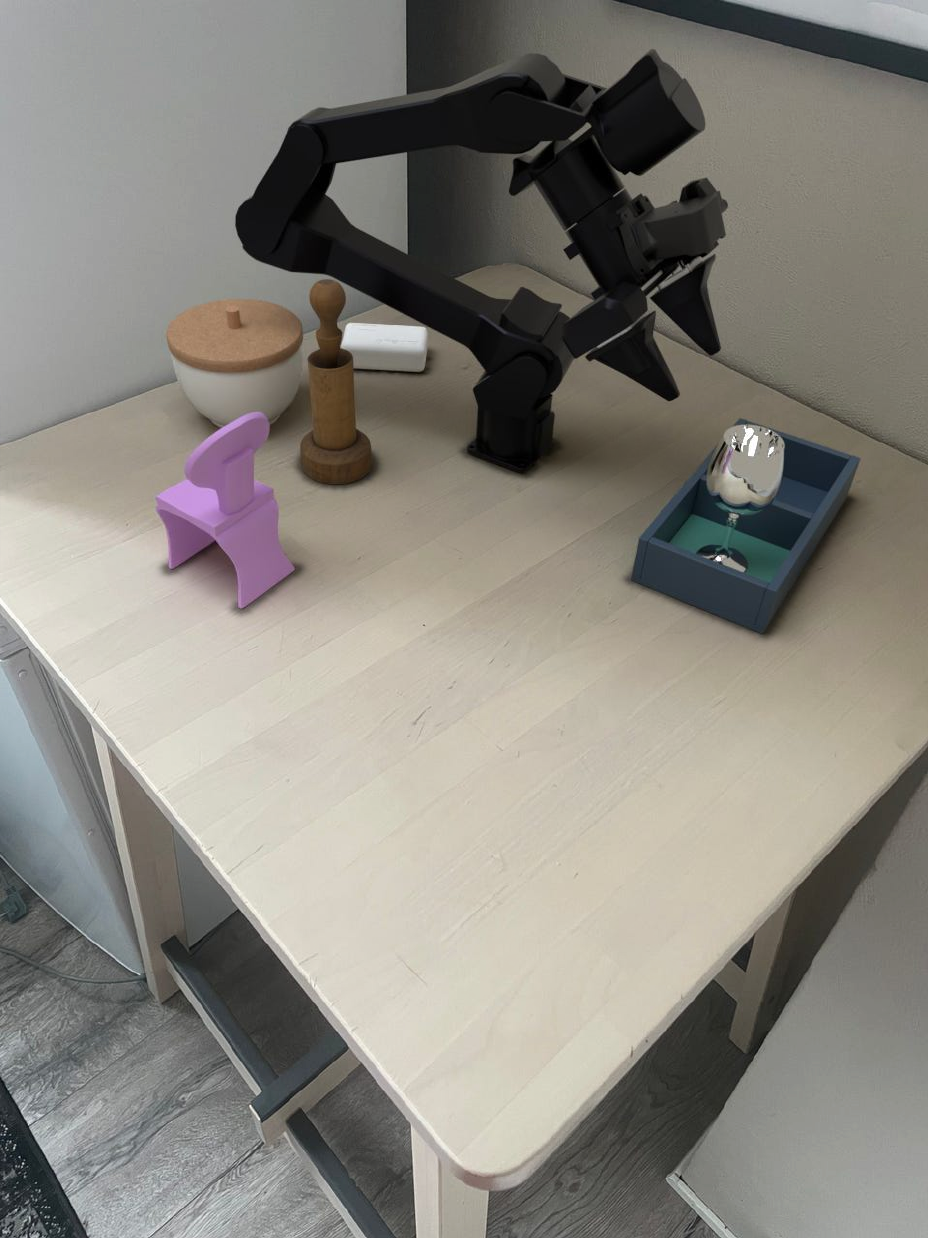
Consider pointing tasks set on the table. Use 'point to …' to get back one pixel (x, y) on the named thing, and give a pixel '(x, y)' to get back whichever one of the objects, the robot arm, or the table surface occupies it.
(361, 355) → the soap
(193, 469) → the toy chair
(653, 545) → the divided storage tray
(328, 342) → the mortar and pestle
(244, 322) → the lidded bowl
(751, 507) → the wineglass
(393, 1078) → the table surface
